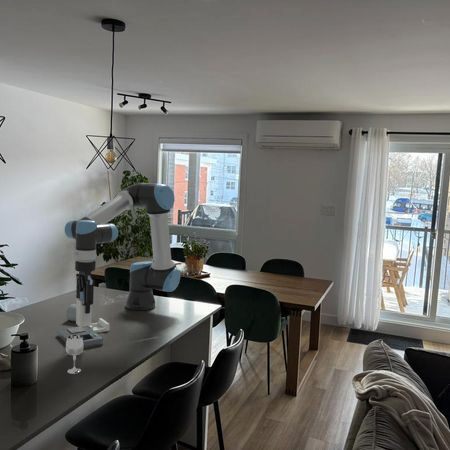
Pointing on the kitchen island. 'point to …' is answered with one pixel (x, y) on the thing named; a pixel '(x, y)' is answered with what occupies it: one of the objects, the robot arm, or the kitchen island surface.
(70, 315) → the ceramic mug
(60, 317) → the kitchen island surface
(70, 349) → the wineglass
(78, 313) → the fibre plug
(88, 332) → the port panel
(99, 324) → the holster
